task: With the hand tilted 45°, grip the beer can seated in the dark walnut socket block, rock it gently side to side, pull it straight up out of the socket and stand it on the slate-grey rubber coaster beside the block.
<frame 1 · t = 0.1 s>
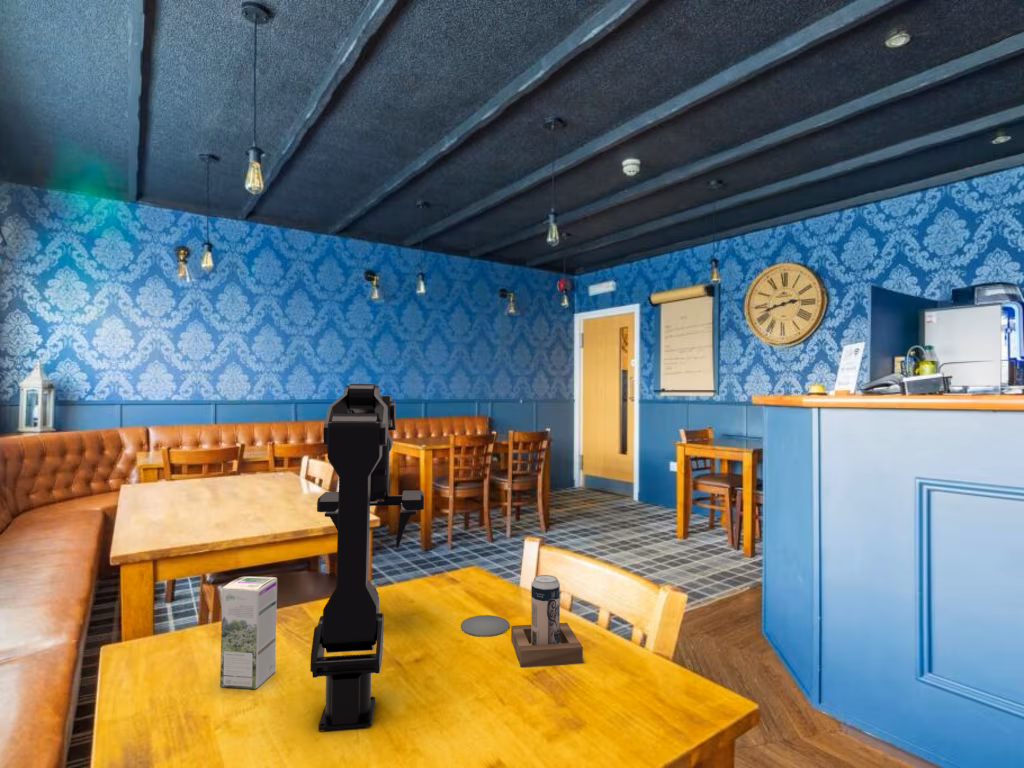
hand: (371, 548, 101), 15 cm above the table, tool pointing down, fingers open, 9 cm apart
socket block: (545, 651, 92), on the table
beer can: (545, 652, 92), resting in socket block
syrup box: (248, 681, 82), on the table
coaster: (485, 626, 102), on the table
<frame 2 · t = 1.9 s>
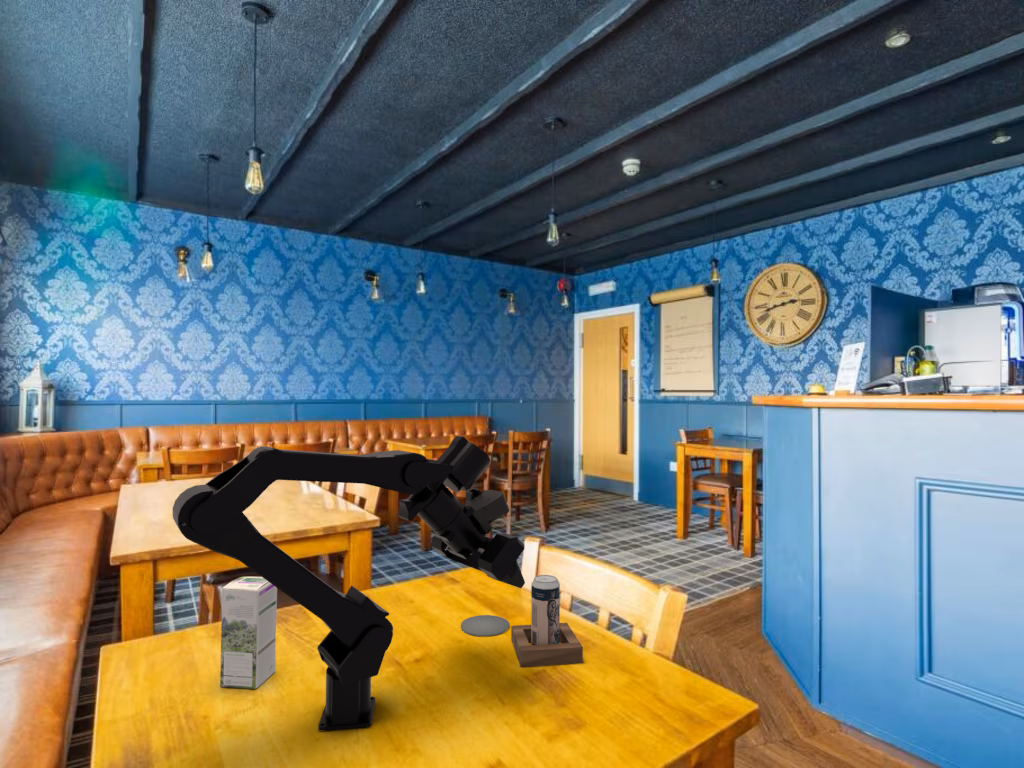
hand: (505, 577, 88), 13 cm above the table, tool tilted 45°, fingers open, 9 cm apart
nothing on the table moved.
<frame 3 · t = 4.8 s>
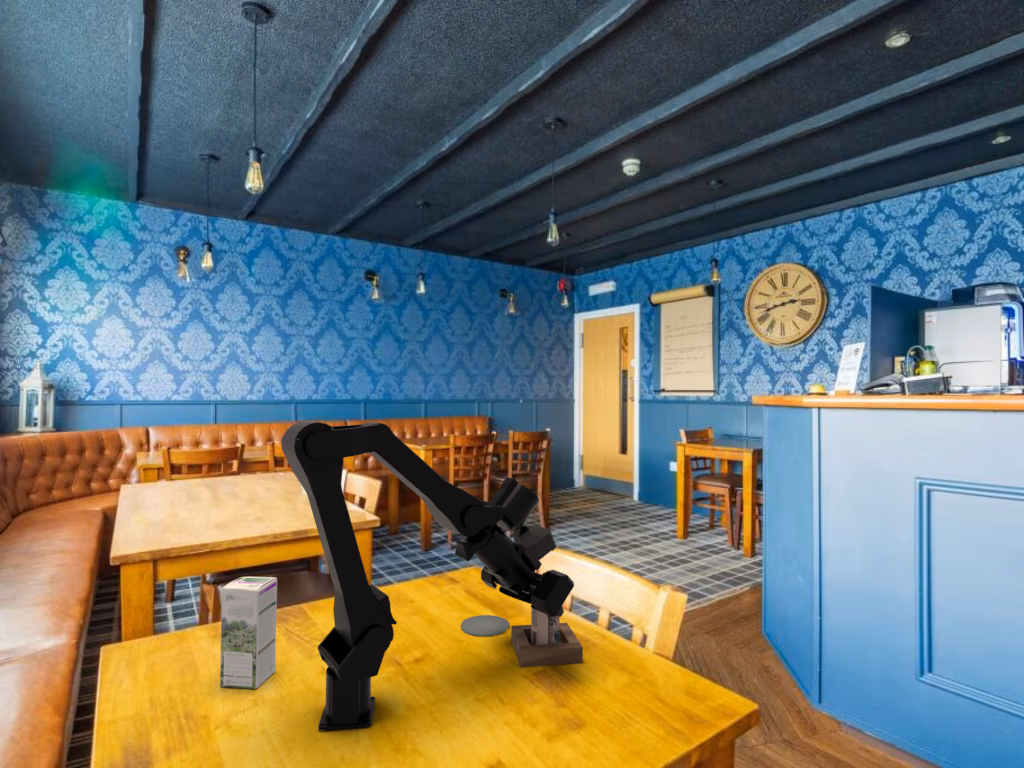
hand: (551, 609, 93), 7 cm above the table, tool tilted 45°, fingers closed on beer can, 5 cm apart
beer can: (545, 652, 92), resting in socket block, touching gripper
everything else where it was.
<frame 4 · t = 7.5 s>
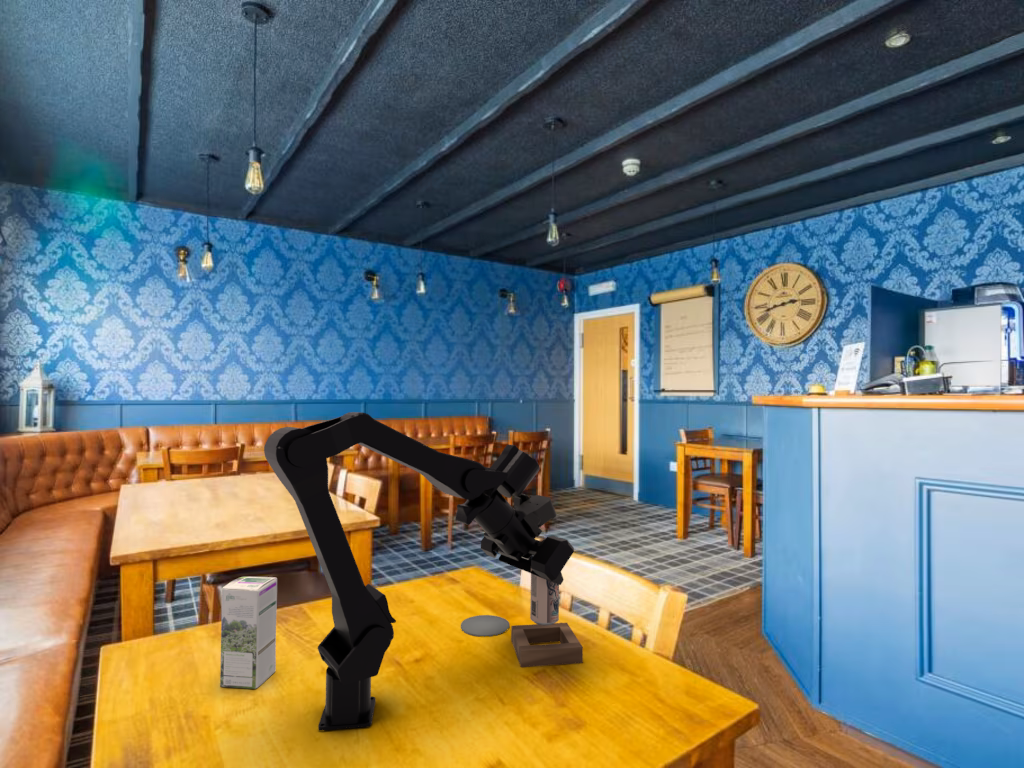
hand: (551, 578, 93), 12 cm above the table, tool tilted 45°, fingers closed on beer can, 5 cm apart
beer can: (544, 622, 92), point 5 cm above the table, touching gripper
everything else where it was.
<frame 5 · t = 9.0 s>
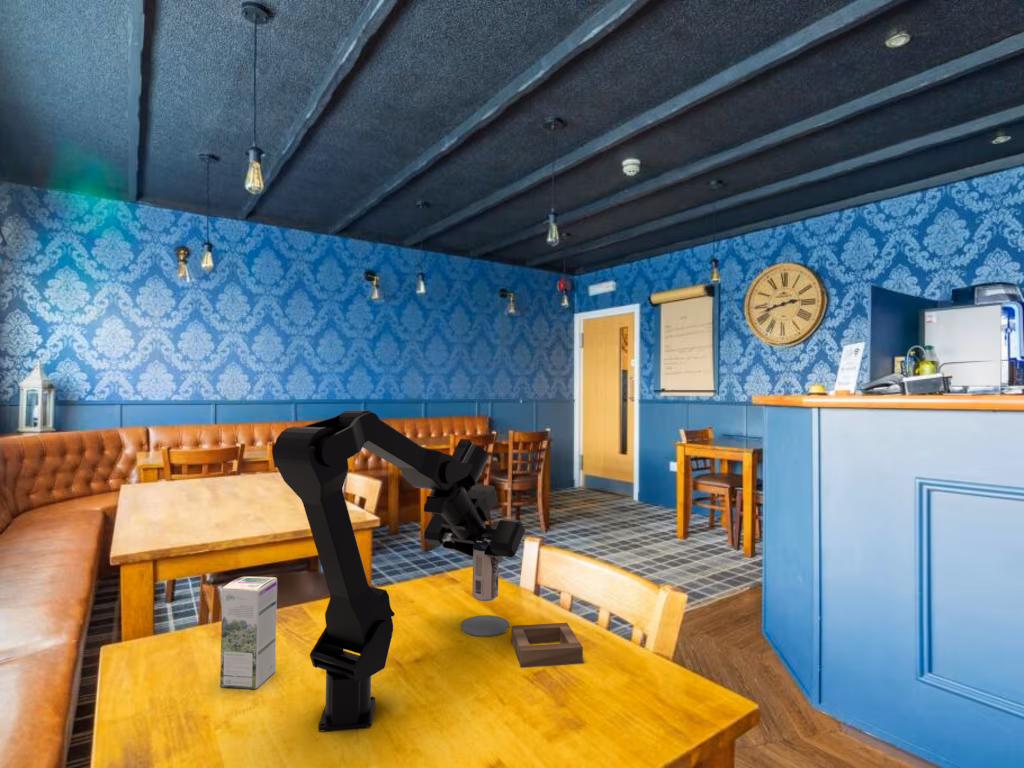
hand: (489, 558, 104), 12 cm above the table, tool tilted 45°, fingers closed on beer can, 5 cm apart
beer can: (485, 599, 102), point 5 cm above the table, touching gripper
everything else where it was.
when the fingers open (8 cm above the table, at t = 10.3 s): beer can stays where it is, resting on coaster.
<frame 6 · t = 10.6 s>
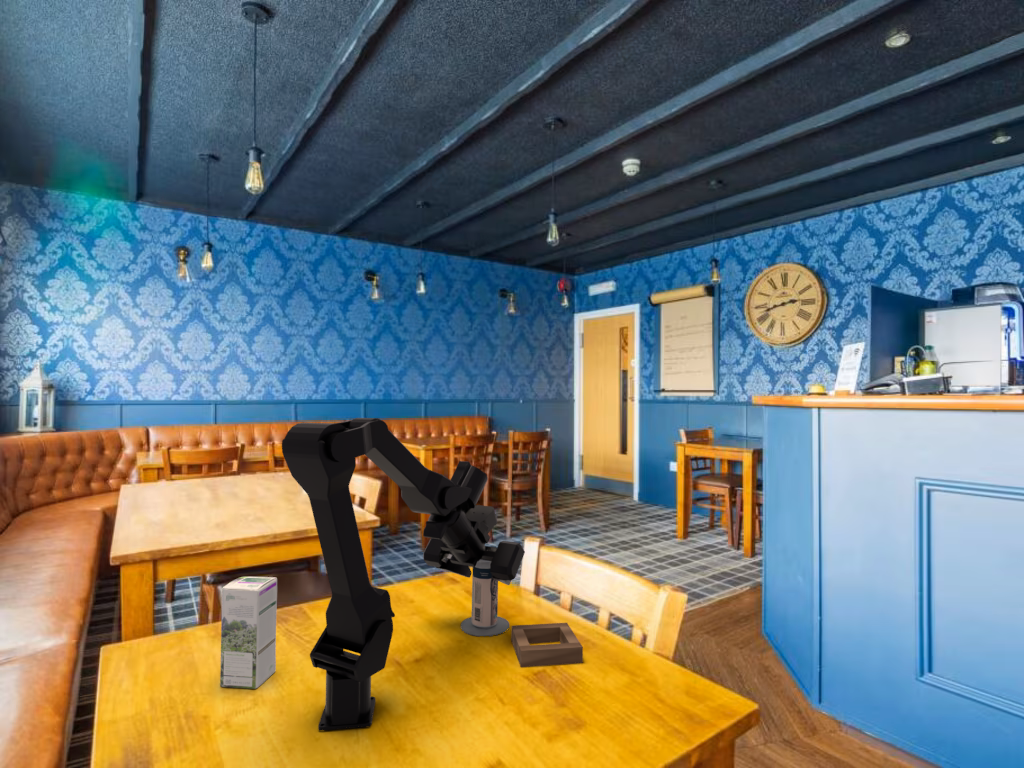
hand: (489, 578, 104), 8 cm above the table, tool tilted 45°, fingers open, 8 cm apart
beer can: (484, 625, 102), resting on coaster
everything else where it was.
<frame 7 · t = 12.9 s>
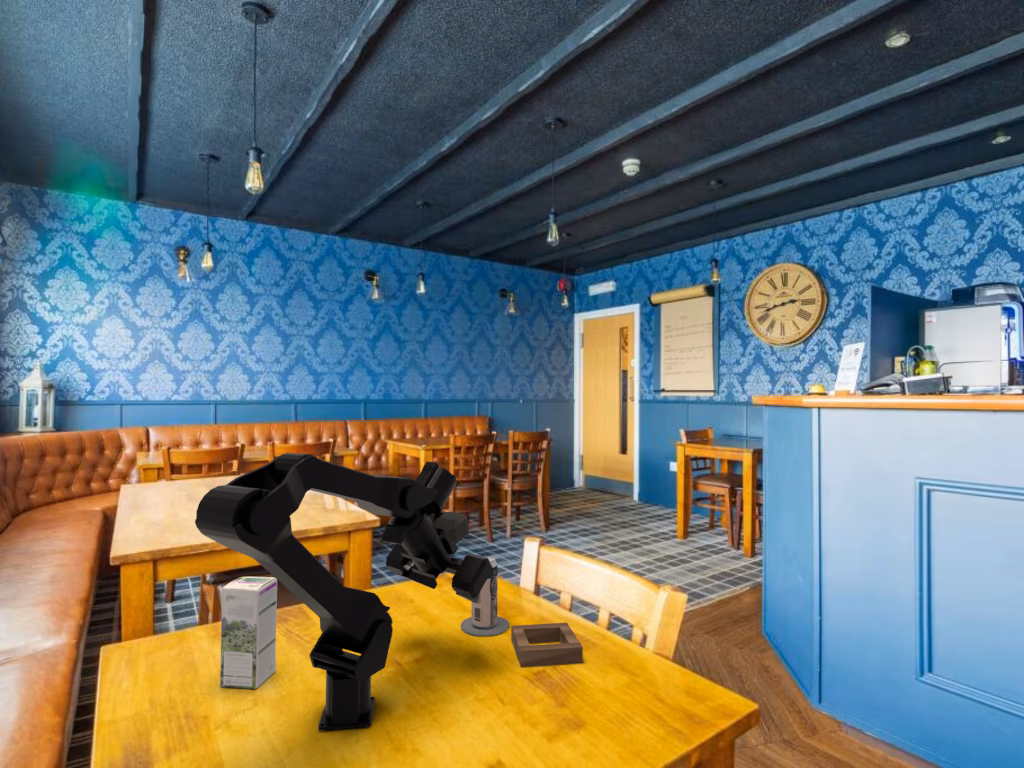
hand: (455, 593, 95), 9 cm above the table, tool tilted 40°, fingers open, 9 cm apart
nothing on the table moved.
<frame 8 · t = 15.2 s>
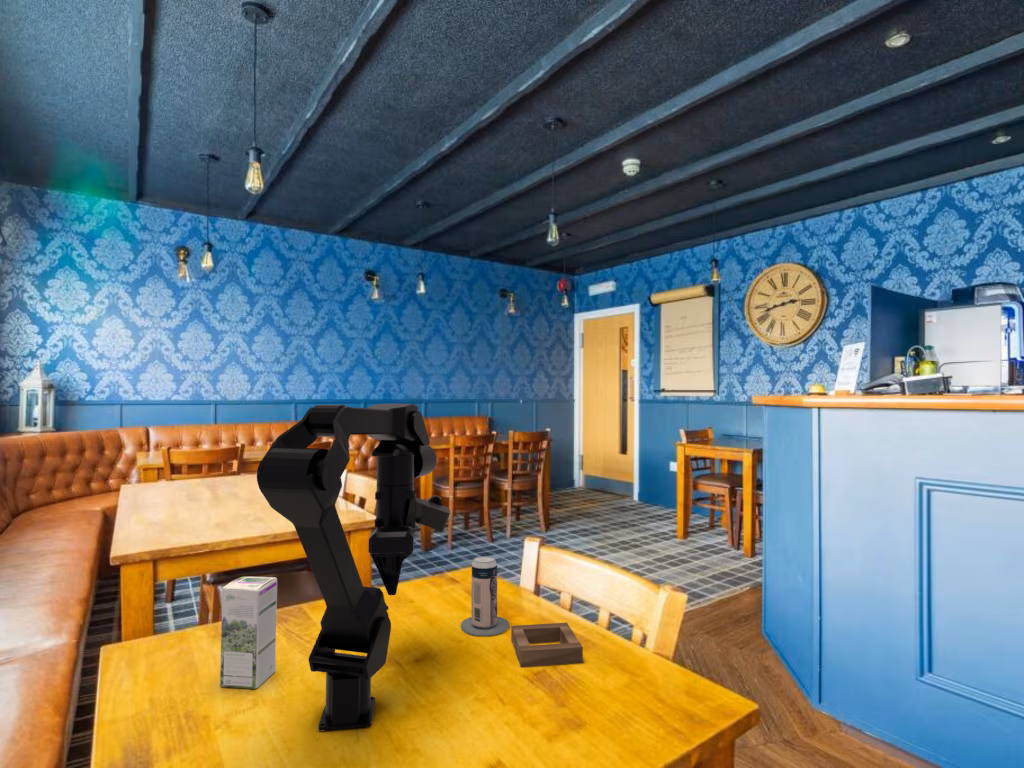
hand: (394, 584, 86), 13 cm above the table, tool pointing down, fingers open, 9 cm apart
nothing on the table moved.
at the end: beer can 0.3 cm off-centre on the coaster, point 0.2 cm above the coaster's base; beer can tilted 0°; the gripper is holding nothing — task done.
